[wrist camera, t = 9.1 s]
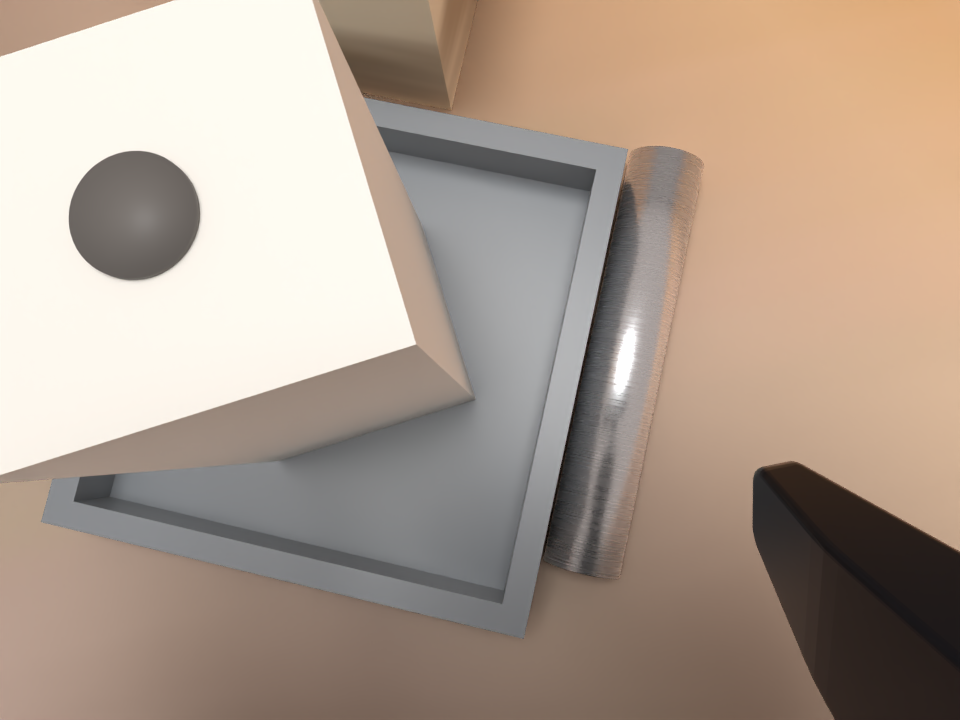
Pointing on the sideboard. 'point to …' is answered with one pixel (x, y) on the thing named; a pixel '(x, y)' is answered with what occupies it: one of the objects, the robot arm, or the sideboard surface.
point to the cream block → (205, 249)
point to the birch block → (404, 46)
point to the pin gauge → (624, 362)
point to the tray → (436, 436)
